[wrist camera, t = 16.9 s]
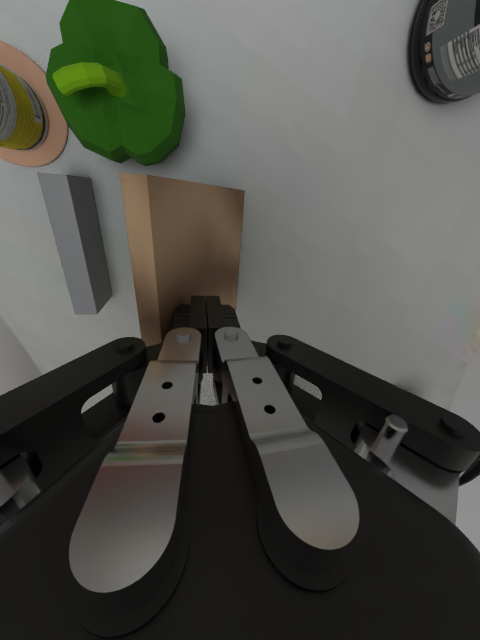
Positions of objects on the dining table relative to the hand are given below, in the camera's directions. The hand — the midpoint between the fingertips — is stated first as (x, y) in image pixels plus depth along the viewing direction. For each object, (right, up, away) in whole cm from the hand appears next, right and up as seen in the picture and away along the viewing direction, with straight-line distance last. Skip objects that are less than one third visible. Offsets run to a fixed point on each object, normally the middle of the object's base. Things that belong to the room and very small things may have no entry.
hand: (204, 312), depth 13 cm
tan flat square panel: (-1, +2, +4) cm, 5 cm away
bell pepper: (-7, +18, +9) cm, 21 cm away
